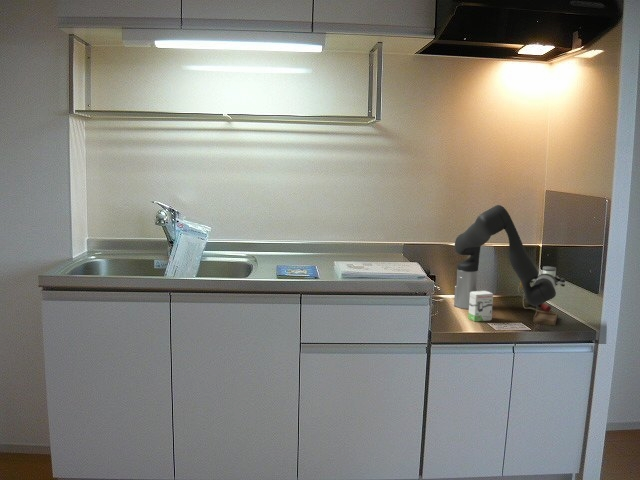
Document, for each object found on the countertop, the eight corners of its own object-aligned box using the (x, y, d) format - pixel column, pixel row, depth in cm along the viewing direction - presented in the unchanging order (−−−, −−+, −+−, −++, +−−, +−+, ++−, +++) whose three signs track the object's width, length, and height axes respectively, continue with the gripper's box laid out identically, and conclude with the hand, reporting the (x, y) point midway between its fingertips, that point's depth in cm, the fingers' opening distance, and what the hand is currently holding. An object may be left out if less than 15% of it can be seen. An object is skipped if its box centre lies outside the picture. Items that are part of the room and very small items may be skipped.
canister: (540, 293, 225) (542, 267, 223) (541, 291, 229) (543, 265, 227) (553, 295, 222) (555, 269, 220) (554, 292, 227) (556, 267, 225)
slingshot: (547, 304, 252) (558, 303, 238) (532, 320, 252) (542, 320, 237) (520, 279, 255) (529, 277, 240) (505, 295, 255) (513, 293, 240)
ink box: (474, 321, 224) (476, 294, 223) (467, 318, 229) (469, 291, 227) (492, 320, 227) (493, 293, 225) (485, 316, 232) (486, 290, 230)
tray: (532, 322, 225) (533, 317, 225) (536, 314, 236) (536, 310, 236) (554, 325, 221) (555, 320, 221) (557, 317, 232) (557, 313, 232)
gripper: (565, 277, 208) (568, 270, 223) (526, 273, 215) (531, 266, 230) (563, 296, 209) (567, 287, 224) (525, 291, 216) (530, 283, 231)
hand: (549, 276), depth 227 cm, fingers closed on canister, 5 cm apart
